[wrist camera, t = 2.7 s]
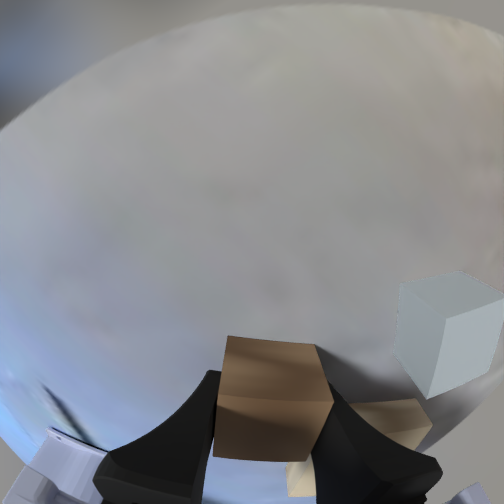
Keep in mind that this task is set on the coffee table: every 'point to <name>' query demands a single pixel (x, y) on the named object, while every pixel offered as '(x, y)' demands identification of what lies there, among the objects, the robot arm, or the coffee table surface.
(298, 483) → the beech slab
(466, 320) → the grey cube
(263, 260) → the coffee table surface
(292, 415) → the walnut cube
